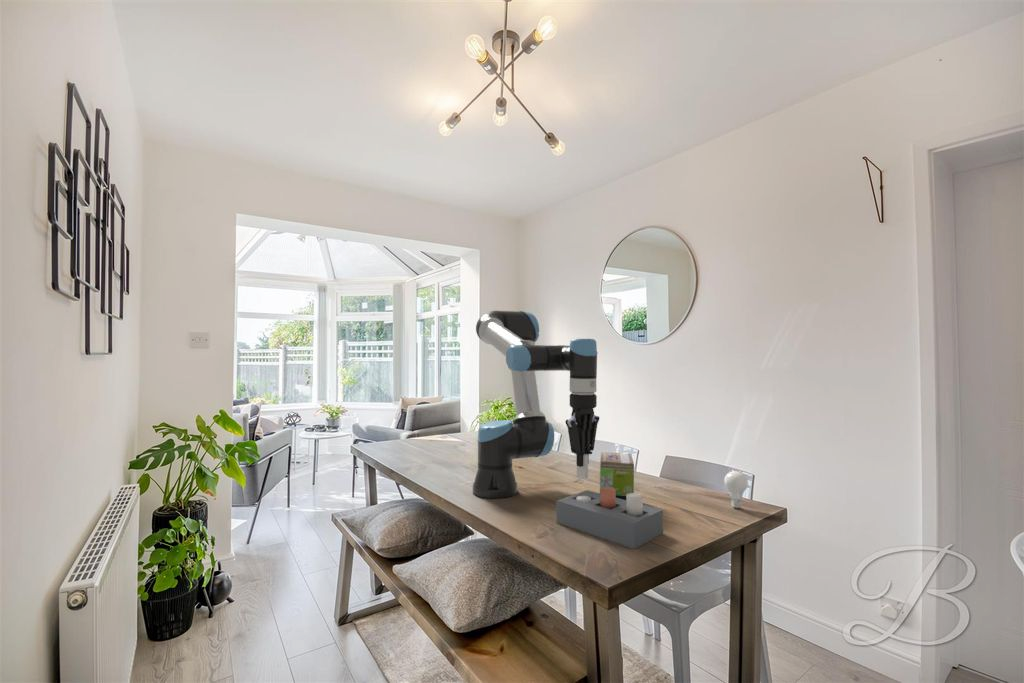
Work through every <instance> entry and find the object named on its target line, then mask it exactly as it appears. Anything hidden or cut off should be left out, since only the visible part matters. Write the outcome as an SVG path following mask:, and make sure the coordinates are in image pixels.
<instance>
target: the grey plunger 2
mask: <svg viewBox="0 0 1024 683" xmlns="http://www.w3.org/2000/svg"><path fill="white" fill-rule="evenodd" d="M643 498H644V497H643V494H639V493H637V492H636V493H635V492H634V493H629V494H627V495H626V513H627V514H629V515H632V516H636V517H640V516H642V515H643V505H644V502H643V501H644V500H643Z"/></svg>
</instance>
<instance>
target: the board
mask: <svg viewBox="0 0 1024 683" xmlns="http://www.w3.org/2000/svg"><path fill="white" fill-rule="evenodd" d="M577 496H588V497H590V498H591V500H590V501H588V502H583V501H579V500H576V497H577ZM555 505H556V506H555V507H556V508H555V510H556V521H555V522H556V523H557V524H559V525H563V526H566V527H568V528H571V529H573V530H577V531H580V532H583V533H585V534H589V535H591V536H595V537H598V538H600V539H603V540H606V541H608V542H611V543H615V544H617V545H621V546H624V547H626V548H630V549H632V550H635V549H637V548H638V547H641V546H642V545H644V544H646V543H648V542H650V541H652V540H653V539H655V538H657V537H659V536H661V535H662V534H664V515H663V514H664V512H663V508H657V507H653V506H650V505H646V504H643V515H642V516H640V517H636V516H632V515H629V514H627V513H626V500H623V499H619V498H616V507H615V508H613V509H607V508H604V507H600V492H595V491H593V490H587V489H586V490H584V491H581V492H577V493H575V494H572V495H569V496H566V497H563V498H560V499H558V500H556V504H555Z"/></svg>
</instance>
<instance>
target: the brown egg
mask: <svg viewBox="0 0 1024 683" xmlns="http://www.w3.org/2000/svg"><path fill="white" fill-rule="evenodd" d="M599 493H600V507H604V508H607V509H613V508H615V507H616V495H615V488H612V487H602V488H600V487H599Z"/></svg>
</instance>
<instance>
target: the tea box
mask: <svg viewBox="0 0 1024 683" xmlns="http://www.w3.org/2000/svg"><path fill="white" fill-rule="evenodd" d="M599 461H600V464H599V489H600V488H602V487H612V488H615V495H616V498H619V499H623V500H626V495H627V494H629V493H635V463H634V459H633V455H632V453H626V452H625V453H624V452H621V453H620V452H609V451H608V452H607V451H606V452H605V451H604V452H602V451H601V453H600V460H599Z"/></svg>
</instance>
